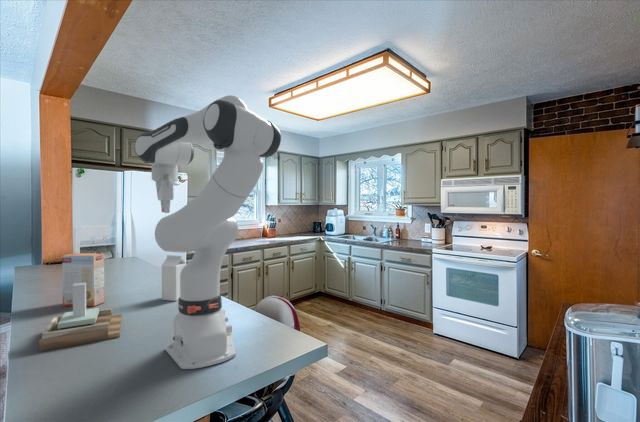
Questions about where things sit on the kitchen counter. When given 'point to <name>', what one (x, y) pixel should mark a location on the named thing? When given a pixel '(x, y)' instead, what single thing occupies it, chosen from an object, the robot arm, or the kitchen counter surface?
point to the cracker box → (83, 277)
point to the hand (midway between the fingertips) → (165, 212)
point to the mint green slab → (79, 310)
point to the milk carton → (171, 277)
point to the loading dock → (81, 332)
